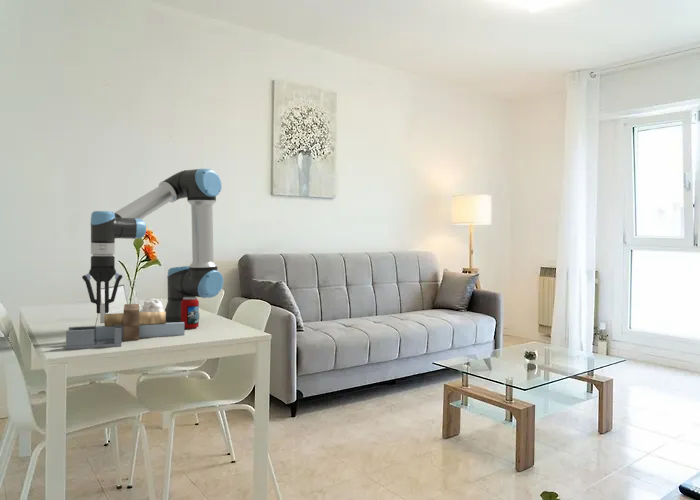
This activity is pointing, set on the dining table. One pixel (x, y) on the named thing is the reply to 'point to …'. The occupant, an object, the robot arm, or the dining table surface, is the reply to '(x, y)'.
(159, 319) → the dowel
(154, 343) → the dining table surface
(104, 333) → the rail
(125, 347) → the dining table surface
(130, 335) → the brown wooden block
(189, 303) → the beverage can
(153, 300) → the figurine
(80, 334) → the cradle
